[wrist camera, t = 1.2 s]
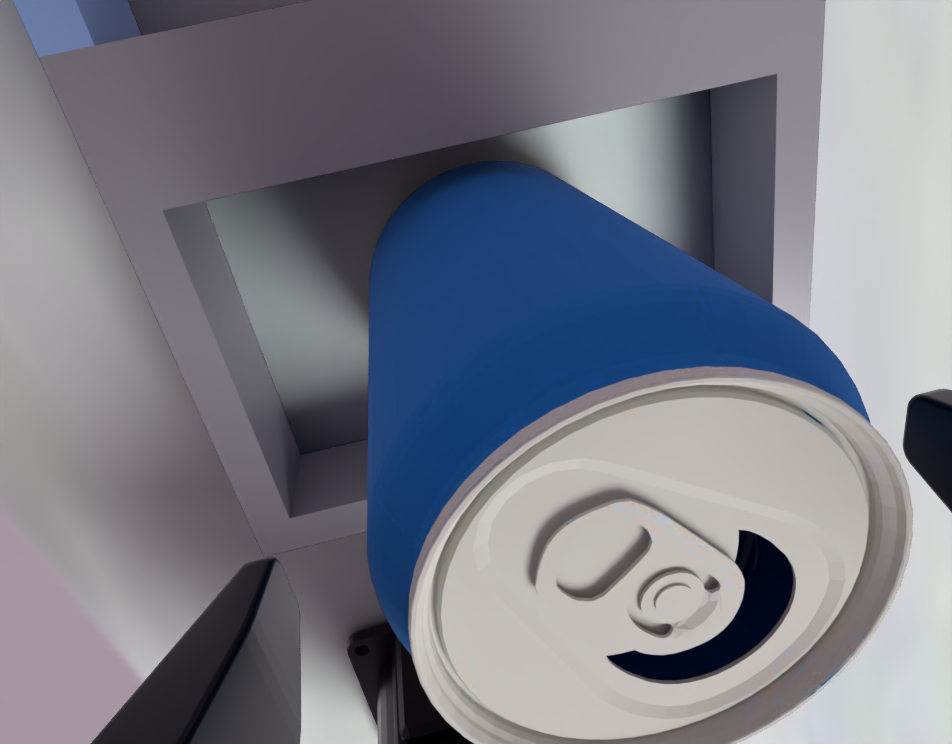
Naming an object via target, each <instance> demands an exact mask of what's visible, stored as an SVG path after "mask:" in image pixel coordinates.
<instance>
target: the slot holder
mask: <svg viewBox="0 0 952 744" xmlns="http://www.w3.org/2000/svg"><path fill="white" fill-rule="evenodd" d="M13 2H14V4H15V7H16V9H17V11H18V13H19V15H20V18H21V20H22V22H23V24H24V26H25V29H26V31H27V33H28V35H29V38H30V40H31V42H32V44H33V46H34V49H35V51H36V53H37V55H38V57H39V60H40V62H41V64H42V66H43V69H44V71H45V73H46V75H47V77H48V80H49V82H50V84H51V86H52V88H53V91H54V93H55V95H56V97H57V100H58V102H59V104H60V106H61V108H62V111H63V113H64V115H65V117H66V119H67V122H68V124H69V126H70V128H71V131H72V133H73V135H74V137H75V139H76V142H77V144H78V146H79V148H80V151H81V153H82V155H83V157H84V159H85V162H86V164H87V166H88V168H89V170H90V173H91V175H92V177H93V179H94V182H95V184H96V186H97V188H98V190H99V193H100V195H101V197H102V199H103V201H104V204H105V206H106V208H107V210H108V213H109V215H110V217H111V219H112V221H113V224H114V226H115V228H116V230H117V232H118V235H119V237H120V239H121V241H122V244H123V246H124V248H125V250H126V252H127V255H128V257H129V259H130V261H131V263H132V266H133V268H134V270H135V272H136V275H137V277H138V279H139V281H140V283H141V286H142V288H143V290H144V292H145V294H146V297H147V299H148V301H149V303H150V306H151V308H152V310H153V312H154V314H155V317H156V319H157V321H158V323H159V325H160V328H161V330H162V332H163V334H164V337H165V339H166V341H167V343H168V345H169V348H170V350H171V352H172V354H173V357H174V359H175V361H176V363H177V365H178V368H179V370H180V372H181V374H182V376H183V379H184V381H185V383H186V385H187V388H188V390H189V392H190V394H191V396H192V399H193V401H194V403H195V405H196V407H197V410H198V412H199V414H200V416H201V419H202V421H203V423H204V425H205V427H206V430H207V432H208V434H209V436H210V438H211V441H212V443H213V445H214V447H215V450H216V452H217V454H218V456H219V458H220V461H221V463H222V465H223V467H224V469H225V472H226V474H227V476H228V478H229V481H230V483H231V485H232V487H233V489H234V492H235V494H236V496H237V498H238V500H239V503H240V505H241V507H242V509H243V512H244V514H245V516H246V518H247V520H248V523H249V525H250V527H251V529H252V531H253V534H254V536H255V538H256V540H257V543H258V545H259V547H260V549H261V551H262V554H263V556H264V557H267V556H271V555H275V554H279V553H283V552H287V551H291V550H295V549H299V548H303V547H307V546H311V545H315V544H319V543H323V542H327V541H331V540H335V539H339V538H343V537H347V536H351V535H355V534H359V533H363V532H367V470H368V439H366V440H362V441H358V442H353V443H349V444H345V445H341V446H337V447H333V448H329V449H325V450H321V451H316V452H312V453H308V454H304V455H301V454H300V451H299V449H298V446H297V443H296V441H295V438H294V435H293V433H292V430H291V428H290V425H289V422H288V420H287V417H286V414H285V412H284V409H283V407H282V404H281V401H280V399H279V396H278V393H277V391H276V388H275V386H274V383H273V380H272V378H271V375H270V372H269V370H268V367H267V365H266V362H265V359H264V357H263V354H262V351H261V349H260V346H259V343H258V341H257V338H256V336H255V333H254V330H253V328H252V325H251V322H250V320H249V317H248V315H247V312H246V309H245V307H244V304H243V301H242V299H241V296H240V294H239V291H238V288H237V286H236V283H235V280H234V278H233V275H232V273H231V270H230V267H229V265H228V262H227V259H226V257H225V254H224V251H223V249H222V246H221V244H220V241H219V238H218V236H217V233H216V230H215V228H214V225H213V223H212V220H211V217H210V215H209V212H208V209H207V207H206V204H205V202H204V201H208V200H212V199H217V198H221V197H226V196H230V195H235V194H239V193H244V192H248V191H253V190H257V189H262V188H266V187H271V186H275V185H280V184H284V183H289V182H293V181H298V180H302V179H306V178H311V177H315V176H320V175H324V174H329V173H333V172H338V171H342V170H347V169H351V168H356V167H360V166H365V165H369V164H374V163H378V162H383V161H387V160H392V159H396V158H401V157H405V156H410V155H414V154H419V153H423V152H428V151H432V150H437V149H441V148H446V147H450V146H455V145H459V144H464V143H468V142H473V141H477V140H482V139H486V138H491V137H495V136H500V135H504V134H509V133H513V132H518V131H522V130H527V129H531V128H536V127H540V126H545V125H549V124H554V123H558V122H563V121H567V120H572V119H576V118H581V117H585V116H590V115H594V114H599V113H603V112H608V111H612V110H617V109H621V108H626V107H630V106H635V105H639V104H644V103H648V102H653V101H657V100H662V99H666V98H670V97H675V96H679V95H684V94H688V93H693V92H697V91H702V90H706V89H710V101H711V145H712V189H713V233H714V270H715V271H717V272H719V273H720V274H722V275H724V276H726V277H727V278H729V279H731V280H732V281H734V282H736V283H737V284H739V285H741V286H743V287H744V288H746V289H748V290H749V291H751V292H753V293H754V294H756V295H758V296H759V297H761V298H763V299H765V300H766V301H768V302H770V303H771V304H773V305H775V306H776V307H778V308H780V309H782V310H783V311H785V312H787V313H788V314H790V315H792V316H793V317H795V318H796V319H797V320H799V321H800V322H801V323H802V324H804V325H805V326H806V327H808V328H809V322H810V302H811V282H812V262H813V242H814V221H815V201H816V181H817V161H818V141H819V120H820V100H821V80H822V60H823V40H824V19H825V0H310V1H305V2H300V3H296V4H291V5H286V6H281V7H276V8H272V9H267V10H262V11H257V12H253V13H248V14H243V15H238V16H233V17H229V18H224V19H219V20H214V21H209V22H205V23H200V24H195V25H190V26H186V27H181V28H176V29H171V30H166V31H162V32H157V33H152V34H147V35H142V36H141V33H140V31H139V28H138V25H137V23H136V20H135V18H134V15H133V12H132V10H131V7H130V4H129V2H128V0H13Z"/></svg>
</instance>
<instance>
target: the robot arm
mask: <svg viewBox="0 0 952 744" xmlns="http://www.w3.org/2000/svg"><path fill="white" fill-rule="evenodd" d="M903 450H904V453H905V456H906V458H907V459H908V461H909V462H910V464H911V465H912V466H913V467H914V469H915V470H916V471H917V472H918V473H919V474H920V476H921V477H922V478H923V479H924V480H925V482H926V483H927V484H928V485H929V486H930V487H931V489H932V490H933V491H934V492H935V493H936V494H937V496H938V497H939V498H940V499H941V500H942V502H943V503H944V504H945V505H946V506H947V507H948V509H949V510H950V511H951V512H952V390H948V389H938V390H934V391H930V392H926V393H922V394H918V395H916V396H914V397H913V398H911V400H910V402H909V403H908V407H907V415H906V422H905V430H904V438H903ZM359 645H366V646H359ZM347 651H348V656H349V658H350V660H351V663H352V665H353V668H354V670H355V673H356V675H357V678H358V680H359V682H360V685H361V687H362V690H363V692H364V695H365V697H366V700H367V702H368V704H369V707H370V709H371V712H372V714H373V717H374V719H375V721H376V724H377V726H378V744H474V743H472V742H471V741H469V740H468V739H466V738H465V737H463V736H462V735H461V734H460V733H459V732H458V731H456V730H455V729H454V728H453V727H452V726H451V725H450V724H449V723H447V722H446V721H445V719H444V718H443V717H442V716H441V714H440V713H439V712H438V711H437V710H436V708H435V707H434V706H433V705H432V703H431V702H430V700H429V698H428V696H427V694H426V692H425V691H424V689H423V687H422V685H421V683H420V681H419V678H418V675H417V672H416V669H415V666H414V663H413V660H412V656H411V654H410V653H409V652H408V650H407V649H406V648H405V647H404V645H403V644H402V643H401V642H400V640H399V639H398V637H397V636H396V634H395V633H394V631H393V629H392V627H391V625H390V624H389V623H388V624H384V625H380V626H376V627H372V628H369V629H365V630H361V631H358V632H355V633H353V634H352V635H351V636H350V637H349V639H348V647H347ZM300 733H301V658H300V613H299V607H298V603H297V600H296V597H295V595H294V593H293V590H292V588H291V586H290V584H289V581H288V579H287V577H286V574H285V572H284V570H283V567H282V565H281V563H280V562H279V561H278V560H277V559H276V558H273V557H270V558H266V559H262V560H258V561H254V562H250V563H247V564H245V565H244V566H243V567H242V568H241V569H240V570H239V571H238V572H237V573H236V575H235V576H234V577H233V578H232V579H231V580H230V582H229V583H228V584H227V585H226V586H225V587H224V589H223V590H222V591H221V592H220V593H219V594H218V596H217V597H216V598H215V599H214V600H213V601H212V603H211V604H210V605H209V606H208V607H207V608H206V610H205V611H204V612H203V613H202V614H201V615H200V617H199V618H198V619H197V620H196V621H195V623H194V624H193V625H192V626H191V627H190V628H189V630H188V631H187V632H186V633H185V634H184V635H183V637H182V638H181V639H180V640H179V641H178V642H177V644H176V645H175V646H174V647H173V648H172V649H171V651H170V652H169V653H168V654H167V655H166V656H165V658H164V659H163V660H162V661H161V662H160V663H159V665H158V666H157V667H156V668H155V669H154V670H153V672H152V673H151V674H150V675H149V676H148V677H147V679H146V680H145V681H144V682H143V683H142V684H141V686H140V687H139V688H138V689H137V690H136V691H135V693H134V694H133V695H132V696H131V697H130V698H129V700H128V701H127V702H126V703H125V704H124V705H123V707H122V708H121V709H120V710H119V711H118V712H117V714H116V715H115V716H114V717H113V718H112V719H111V721H110V722H109V723H108V724H107V725H106V727H105V728H104V729H103V730H102V731H101V732H100V733H99V735H98V736H97V737H96V738H95V739H94V740H93V742H92V743H91V744H300Z"/></svg>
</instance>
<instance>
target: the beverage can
mask: <svg viewBox="0 0 952 744" xmlns="http://www.w3.org/2000/svg"><path fill="white" fill-rule="evenodd" d="M912 525H913V510H912V504H911V498H910V493H909V487H908V484H907V481H906V478H905V476H904V473H903V470H902V468H901V465H900V462H899V461H898V459H897V458H896V456H895V454H894V453H893V451H892V450H891V448H890V446H889V445H888V443H887V441H886V440H885V439H884V438H883V437H882V436H881V435H880V434H879V433H878V432H877V430H876V429H875V428H874V427H873V426H872V425H871V424H870V420H869V417H868V415H867V412H866V409H865V407H864V404H863V402H862V399H861V397H860V394H859V392H858V390H857V388H856V385H855V384H854V382H853V381H852V379H851V377H850V376H849V374H848V372H847V371H846V369H845V368H844V366H843V364H842V363H841V361H840V360H839V359H838V358H837V356H836V355H835V354H834V353H833V352H832V351H831V350H830V349H829V347H828V346H827V345H826V344H825V343H824V342H823V341H822V340H821V339H820V337H819V336H818V335H817V334H815V333H814V332H813V331H812V330H810V329H809V328H808V327H806V326H805V325H804V324H802V323H801V322H800V321H799V320H797V319H796V318H795V317H793V316H792V315H790V314H788V313H787V312H785V311H783V310H782V309H780V308H778V307H776V306H775V305H773V304H771V303H770V302H768V301H766V300H765V299H763V298H761V297H759V296H758V295H756V294H754V293H753V292H751V291H749V290H748V289H746V288H744V287H743V286H741V285H739V284H737V283H736V282H734V281H732V280H731V279H729V278H727V277H726V276H724V275H722V274H720V273H719V272H717V271H715V270H714V269H712V268H710V267H709V266H707V265H705V264H704V263H702V262H700V261H698V260H697V259H695V258H693V257H692V256H690V255H688V254H687V253H685V252H683V251H681V250H680V249H678V248H676V247H675V246H673V245H671V244H670V243H668V242H666V241H664V240H663V239H661V238H659V237H658V236H656V235H654V234H653V233H651V232H649V231H648V230H646V229H644V228H642V227H641V226H639V225H637V224H636V223H634V222H632V221H631V220H629V219H627V218H625V217H624V216H622V215H620V214H619V213H617V212H615V211H614V210H612V209H610V208H608V207H607V206H605V205H603V204H602V203H600V202H598V201H597V200H595V199H593V198H592V197H590V196H588V195H586V194H585V193H583V192H581V191H580V190H578V189H576V188H575V187H573V186H571V185H569V184H568V183H566V182H564V181H563V180H561V179H559V178H557V177H555V176H554V175H552V174H550V173H548V172H546V171H544V170H541V169H538V168H535V167H533V166H529V165H525V164H520V163H515V162H503V161H491V162H479V163H474V164H469V165H465V166H461V167H458V168H455V169H453V170H450V171H447V172H445V173H443V174H441V175H439V176H437V177H435V178H433V179H431V180H430V181H428V182H427V183H425V184H424V185H423V186H421V187H420V188H418V189H417V190H416V191H415V192H414V193H412V194H411V195H410V196H409V197H408V198H407V199H406V200H405V201H404V202H403V203H402V204H401V205H400V207H399V208H398V209H397V210H396V211H395V213H394V214H393V215H392V217H391V218H390V220H389V221H388V223H387V225H386V226H385V228H384V229H383V232H382V234H381V236H380V238H379V241H378V243H377V245H376V248H375V252H374V255H373V259H372V263H371V270H370V276H369V369H368V470H367V556H368V563H369V569H370V575H371V580H372V583H373V586H374V588H375V591H376V594H377V597H378V600H379V603H380V606H381V609H382V611H383V613H384V614H385V616H386V618H387V620H388V622H389V624H390V625H391V627H392V629H393V631H394V633H395V634H396V636H397V637H398V639H399V640H400V642H401V643H402V644H403V645H404V647H405V648H406V649H407V650H408V652H409V653H410V654H411V656H412V660H413V663H414V666H415V669H416V672H417V675H418V678H419V681H420V683H421V685H422V687H423V689H424V691H425V692H426V694H427V696H428V698H429V700H430V702H431V703H432V705H433V706H434V707H435V708H436V710H437V711H438V712H439V713H440V714H441V716H442V717H443V718H444V719H445V721H446V722H447V723H449V724H450V725H451V726H452V727H453V728H454V729H455V730H456V731H458V732H459V733H460V734H461V735H462V736H463V737H465V738H466V739H468V740H469V741H471V742H472V743H474V744H737V743H739V742H741V741H744V740H746V739H748V738H750V737H752V736H753V735H755V734H757V733H759V732H761V731H763V730H765V729H767V728H769V727H770V726H772V725H774V724H775V723H777V722H778V721H780V720H782V719H783V718H785V717H786V716H788V715H789V714H791V713H793V712H794V711H796V710H797V709H798V708H800V707H801V706H802V705H804V704H805V703H806V702H808V701H809V700H810V699H812V698H813V697H814V696H816V695H817V694H818V693H819V692H820V691H822V690H823V689H824V688H825V687H826V686H827V685H828V684H829V683H830V682H832V681H833V680H834V679H835V678H836V677H837V676H838V675H839V674H840V673H841V672H842V671H843V670H844V669H845V668H846V667H847V666H848V665H849V664H850V663H851V662H852V660H853V659H854V658H855V657H856V656H857V655H858V654H859V653H860V651H861V650H862V649H863V647H864V646H865V645H866V644H867V642H868V641H869V640H870V638H871V637H872V636H873V634H874V633H875V632H876V630H877V628H878V627H879V625H880V624H881V622H882V620H883V619H884V617H885V615H886V614H887V612H888V611H889V609H890V607H891V604H892V602H893V600H894V598H895V596H896V594H897V591H898V589H899V587H900V585H901V582H902V578H903V575H904V572H905V569H906V566H907V563H908V559H909V553H910V547H911V541H912Z"/></svg>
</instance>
